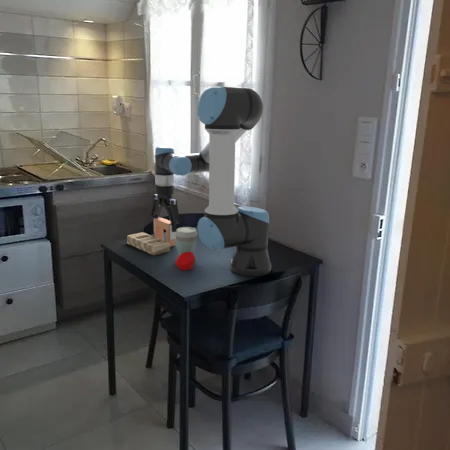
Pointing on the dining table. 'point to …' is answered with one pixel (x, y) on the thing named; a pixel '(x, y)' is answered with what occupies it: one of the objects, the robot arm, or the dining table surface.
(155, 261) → the dining table surface
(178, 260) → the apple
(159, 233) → the clip
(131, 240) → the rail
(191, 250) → the coffee cup
